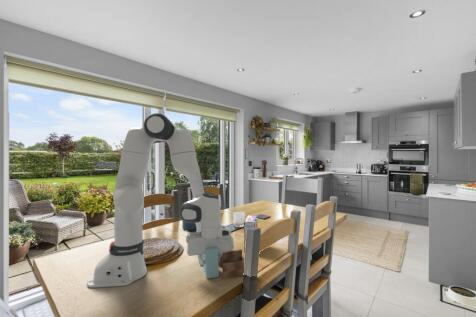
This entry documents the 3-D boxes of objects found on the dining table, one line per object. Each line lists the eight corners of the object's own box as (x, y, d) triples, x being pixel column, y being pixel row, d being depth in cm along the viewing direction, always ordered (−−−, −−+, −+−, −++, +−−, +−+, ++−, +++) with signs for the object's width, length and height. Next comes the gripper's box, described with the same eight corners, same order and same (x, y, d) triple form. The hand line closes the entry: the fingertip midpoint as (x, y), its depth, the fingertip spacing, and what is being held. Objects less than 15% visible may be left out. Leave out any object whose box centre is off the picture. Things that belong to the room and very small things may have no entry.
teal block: (206, 278, 100) (206, 250, 100) (203, 268, 108) (203, 242, 108) (218, 276, 101) (218, 248, 101) (214, 267, 110) (214, 241, 110)
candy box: (254, 253, 125) (254, 222, 125) (243, 252, 126) (243, 221, 126) (258, 243, 138) (257, 215, 138) (247, 243, 140) (247, 214, 139)
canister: (178, 228, 168) (178, 203, 168) (194, 224, 177) (194, 200, 176) (188, 232, 158) (188, 206, 158) (204, 228, 167) (204, 203, 167)
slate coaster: (200, 266, 111) (200, 265, 111) (197, 254, 124) (197, 253, 124) (219, 263, 114) (219, 262, 114) (214, 252, 126) (214, 251, 126)
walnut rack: (223, 279, 100) (223, 264, 100) (217, 265, 112) (216, 252, 112) (250, 274, 103) (250, 260, 103) (241, 261, 116) (241, 249, 115)
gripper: (186, 235, 98) (187, 269, 99) (234, 231, 104) (234, 262, 105) (185, 231, 105) (185, 262, 105) (231, 226, 110) (231, 256, 111)
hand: (210, 262), depth 105 cm, fingers closed on teal block, 5 cm apart
